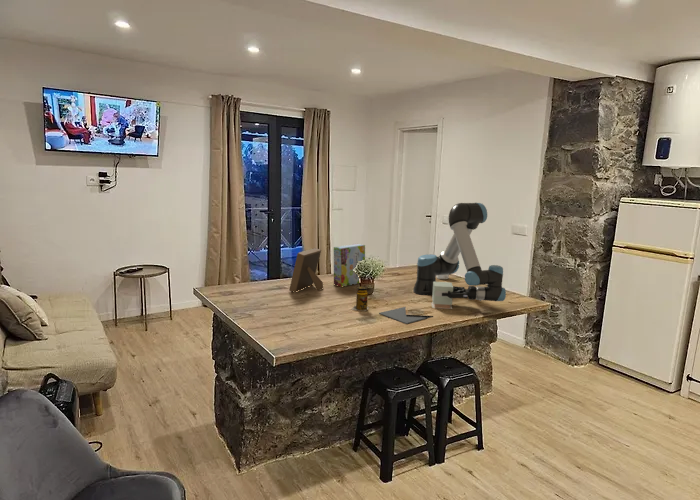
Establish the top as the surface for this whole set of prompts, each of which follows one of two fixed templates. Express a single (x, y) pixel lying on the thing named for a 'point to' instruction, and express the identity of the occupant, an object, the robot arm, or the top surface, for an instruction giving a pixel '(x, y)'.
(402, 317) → the rubber mat
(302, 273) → the photo frame
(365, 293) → the condiment
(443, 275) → the jar
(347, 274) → the snack box
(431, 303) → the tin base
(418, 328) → the top surface
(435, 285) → the pale sage matte cube
